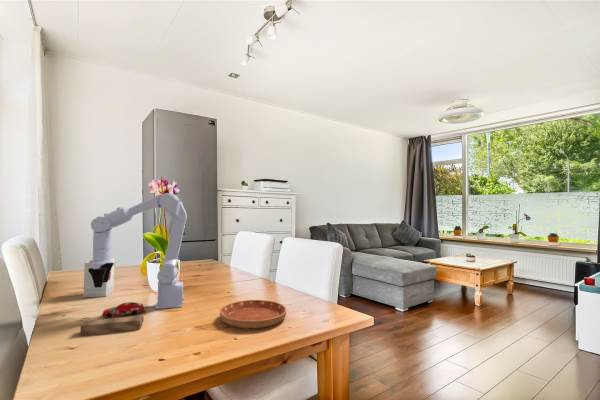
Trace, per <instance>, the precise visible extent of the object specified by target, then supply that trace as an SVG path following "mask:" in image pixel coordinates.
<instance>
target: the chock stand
mask: <svg viewBox="0 0 600 400" xmlns="http://www.w3.org/2000/svg"><path fill="white" fill-rule="evenodd" d="M144 319H145V318H144V315H143V316H142V315H139V316H137V315H135V316H129V317H128V316H124V317H113V318H105V319H93V320H85V321H84V322H82V324H81V325H80V333H79V335H80V337H81V336H84V337H85V336H93V335H101V334H112V333H113V334H114V333H121V332H130V331H131V332H132V331H139V330H141V329H142V326H143V323H144Z"/></svg>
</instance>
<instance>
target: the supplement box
mask: <svg viewBox="0 0 600 400" xmlns="http://www.w3.org/2000/svg"><path fill="white" fill-rule="evenodd" d="M89 261H90V260H88V261H85V262H84V270H83V271H84V274H83V275H84V276H83V294H82V295H83V298H99V297H100V298H101V297H102V298H103V297H107V296H109V295H110V294H112V293H113V292H114V288H115V287H114V283H115V258H111V262H109V263H114V265H113V266H112V268H111V271H110V274H109V279H108V282H105V283H103V285H102V287H98V288H95V286H94V283H93V279H92V276H91V274H90V273H89V271H88V269H89V268H93V264H92V263H89Z"/></svg>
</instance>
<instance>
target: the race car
mask: <svg viewBox="0 0 600 400" xmlns="http://www.w3.org/2000/svg"><path fill="white" fill-rule="evenodd" d="M144 312H145V305H144V303H138V302H134V301H133V302H130V301H129V302H123V303H121V304H118V305H117V306H113V307H109V308H106V309H104V310H103V312H102V313H101V314H102V315H101V316H102V317H103V318H106V319H113V318H119V317H128V316H137V315H139V314H142V313H144Z"/></svg>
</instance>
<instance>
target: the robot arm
mask: <svg viewBox="0 0 600 400" xmlns="http://www.w3.org/2000/svg"><path fill="white" fill-rule="evenodd" d="M153 208H160V209H163V210H164V211H166V212H167V213H168V214H169V215H170V216H171V217H172V219H173V221H172V225H171V229H170V234H169V235H170V236H169V239H168V244H167V247H166V251H165V256H164V260H163V263H162V266H161V268H160V270H158V272H157V276H156V278H157V281H158V282H157V303H156V304H155V307H154V308H155V310H158V309H159V310H160V309H161V310H162V309H170V308H171V309H173V308H182V307H183V302H184V299H185V298H184V297H185V296H184V282H183V281H179V280H178V279H177V278H176V277H177V276H178V275H179V274H178V273H179V269H178V262H179V261H178V260H179V254H180V249H181V245H182V241H183V236H184V232H185V227H186V223H187V219H188V214H187V212H186V209H185V206H184V204H183V202H182V200H181V199H180V197H178V196H177V195H176V194H174V193H169V192H166V193H163V194H161V195H157V196H153V197H150V198H149V199H147V200H144V201H142V202H139V203H138V204H136V205H133V206H131V207H129V208H128V207H125V206H124V207H121V206H118V207H116V209H115V210H112V212H109V213H107V212H105V213H104V214H103V216H97V217H95V218H93V219H92V220H91V222H90V227H91V230H92V232H93V233H92V234H93V235H92V259H91V260H88V261H89V263H92V264H93V268H89V269H88V271H89V273H90V274H91V276H92V279H93V283H94V286H95V288H98V287H102V285H103V283H105V282H108V279H109V274H110V271H111V268H112V266H113V265H114V266H115V262H114V263H109V262H111V259H112V258H111V257H112V236H111V235H112V230H113V228H116V227H119V226H121V225H123V224H126V223H127V222H130V221H132V219H133V217H134V216H135V215H138V214H141V213H143V212H146V211H149V210H150V209H153Z"/></svg>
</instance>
